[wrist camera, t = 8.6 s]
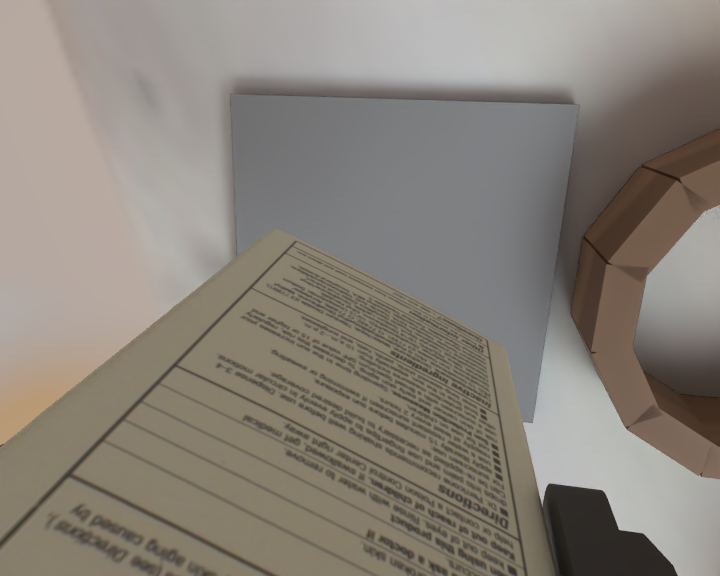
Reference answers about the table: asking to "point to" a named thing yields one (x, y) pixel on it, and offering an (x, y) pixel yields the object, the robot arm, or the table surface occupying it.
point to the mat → (419, 201)
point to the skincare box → (282, 440)
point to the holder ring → (625, 291)
